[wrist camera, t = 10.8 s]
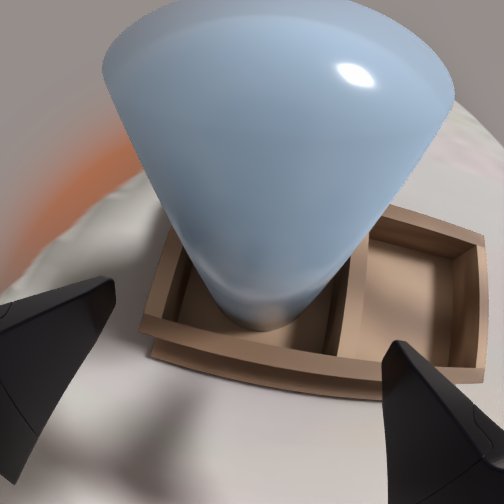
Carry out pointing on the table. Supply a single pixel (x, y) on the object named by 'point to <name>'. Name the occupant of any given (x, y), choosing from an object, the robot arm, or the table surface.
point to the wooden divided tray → (340, 314)
